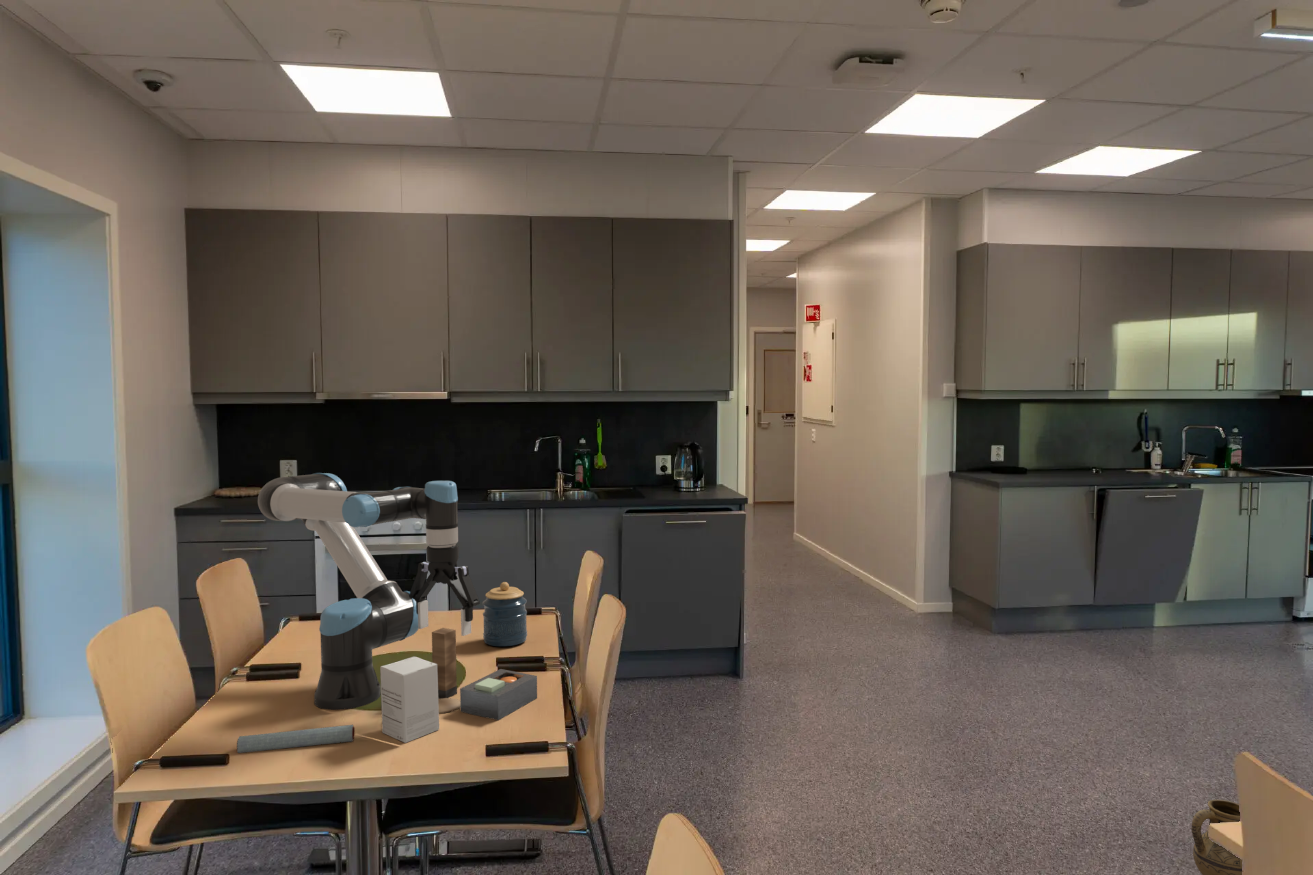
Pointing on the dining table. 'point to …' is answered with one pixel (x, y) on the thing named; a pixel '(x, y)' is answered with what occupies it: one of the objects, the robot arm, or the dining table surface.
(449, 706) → the coaster
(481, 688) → the on button
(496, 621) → the canister
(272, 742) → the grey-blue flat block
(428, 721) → the supplement box
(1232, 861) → the decorative pitcher
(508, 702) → the grey slotted holder
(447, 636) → the walnut bar
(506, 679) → the plunger
